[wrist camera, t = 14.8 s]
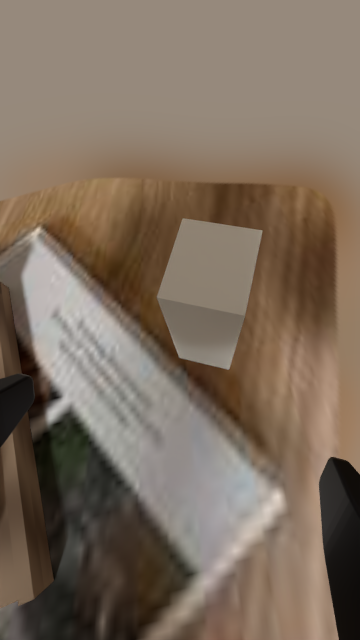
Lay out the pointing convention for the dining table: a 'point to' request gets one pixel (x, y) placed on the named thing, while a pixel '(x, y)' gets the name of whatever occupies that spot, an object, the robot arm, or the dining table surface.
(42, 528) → the walnut tray
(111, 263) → the dining table surface
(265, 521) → the dining table surface
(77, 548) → the dining table surface
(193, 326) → the tall board
